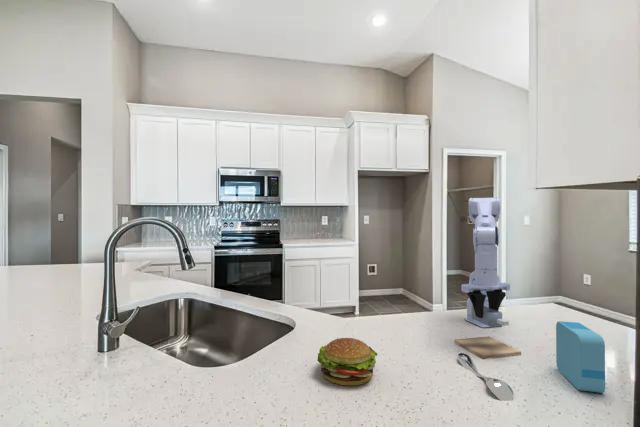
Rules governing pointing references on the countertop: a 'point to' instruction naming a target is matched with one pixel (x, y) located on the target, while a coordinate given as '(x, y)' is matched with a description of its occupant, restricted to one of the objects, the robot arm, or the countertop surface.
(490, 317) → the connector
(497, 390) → the silver spoon
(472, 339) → the cork pad
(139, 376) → the countertop surface
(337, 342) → the food
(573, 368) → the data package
